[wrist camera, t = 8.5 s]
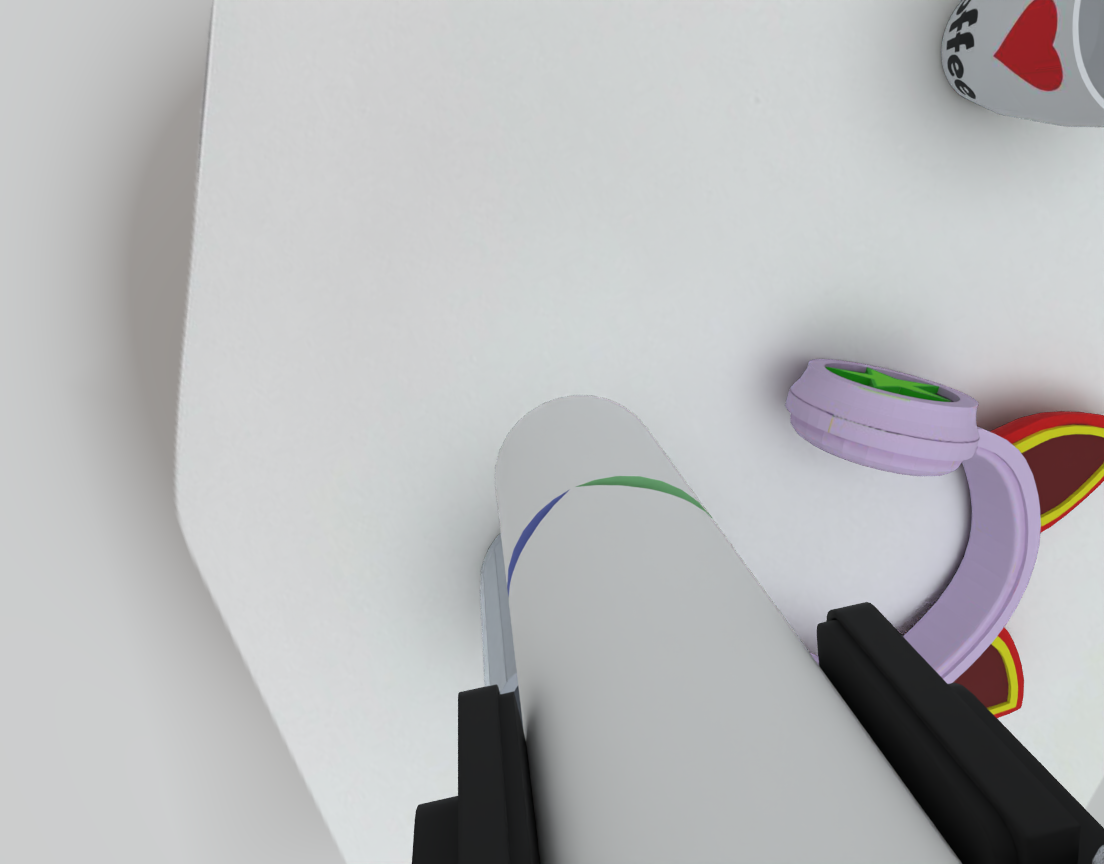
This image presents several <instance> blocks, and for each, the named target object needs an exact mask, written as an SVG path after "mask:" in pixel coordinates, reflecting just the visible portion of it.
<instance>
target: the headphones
mask: <svg viewBox="0 0 1104 864" xmlns="http://www.w3.org/2000/svg"><path fill="white" fill-rule="evenodd" d="M785 406H786V408H787V410H788V411H789V412H790V413H791V424H792V426H793V428H794V429H795V431H796V432H797V433H798V434H799V435H800V436H801V437H803V438H804V439H806V440H807V441H808V442H810V443H811V444H813V445H814V446H816V447H818V448H820V449H822V450H824V451H826V452H828V453H830V454H833V455H835V456H838V457H840V458H843V459H845V460H848V461H851V462H854V463H857V464H860V465H863V466H867V467H871V468H875V469H879V470H883V471H888V472H893V473H898V474H904V475H913V476H940V475H944V474H948V473H950V472H952V471H954V470H957V468H958V467H959V466H960V464H961V463H962V464H963V466H964V470H965V473H966V476H967V480H968V485H969V489H970V496H971V504H972V523H971V531H970V537H969V542H968V545H967V548H966V552H965V555H964V557H963V560H962V562H961V564H960V566H959V568H958V570H957V572H956V574H955V575H954V577H953V579H952V580H951V582H950V584H949V585H948V587H947V588H946V589H945V591H944V592H943V594H942V595H941V596H940V598H939V599H938V601H937V602H936V603H935V604H934V605H933V606H932V607H931V608H930V609H929V611H928V612H927V613H926V614H925V615H924V616H923V617H922V618H921V619H920V620H919V621H918V622H917V623H916V624H915V625H914V626H913V627H912V628H911V629H910V630H909V631H908V632H907V633H906V634H905V635H904V636H903V637H904V638H905V639H906V640H907V641H908V642H909V643H910V644H911V646H912V647H913V648H914V649H915V650H916V651H917V652H918V653H919V654H920V655H921V656H922V657H923V658H924V659H925V660H926V661H927V663H928V664H929V665H930V666H931V667H932V668H933V669H934V670H935V671H936V672H937V673H938V674H939V675H940V676H941V677H942V678H943V679H944V681H945V682H946V683H947V684H950V683H958V684H961V685H963V686H964V687H965V688H967V689H968V690H969V691H970V692H972V693H973V694H974V695H975V696H976V697H977V699H978V700H979V701H980V702H981V703H982V704H983V705H984V706H985V707H986V708H987V709H988V710H989V711H990V712H991V713H992V714H993V715H994V716H995V717H996V718H999V717H1001V716H1004V715H1007V714H1010V713H1012V712H1014V711H1016V710H1018V709H1020V708H1021V706H1022V701H1023V692H1024V677H1023V671H1022V665H1021V661H1020V658H1019V654H1018V652H1017V649H1016V646H1015V644H1014V642H1013V640H1012V638H1011V636H1010V634H1009V632H1008V631H1007V630H1006V629H1005V628H1004V626H1005V625H1006V624H1007V622H1008V621H1009V619H1010V617H1011V616H1012V614H1013V612H1014V611H1015V609H1016V608H1017V606H1018V604H1019V602H1020V599H1021V597H1022V595H1023V593H1024V591H1025V589H1026V587H1027V585H1028V583H1029V580H1030V577H1031V574H1032V571H1033V568H1034V565H1035V562H1036V558H1037V553H1038V549H1039V543H1040V533H1041V532H1043V531H1044V530H1046V529H1048V528H1049V527H1051V526H1052V525H1054V524H1055V523H1056V522H1058V521H1059V520H1060V519H1062V518H1063V517H1064V516H1066V515H1067V514H1068V513H1069V512H1070V511H1072V510H1073V509H1074V508H1075V507H1076V506H1077V505H1079V504H1080V503H1081V502H1082V501H1083V500H1084V499H1085V498H1087V497H1088V496H1089V495H1090V494H1091V493H1092V492H1093V491H1094V490H1095V489H1096V488H1097V487H1098V486H1099V485H1100V484H1101V483H1102V482H1103V481H1104V416H1103V415H1099V414H1092V413H1084V412H1065V411H1061V412H1044V413H1038V414H1034V415H1030V416H1026V417H1022V418H1018V419H1016V420H1014V421H1012V422H1009V423H1007V424H1005V425H1003V426H1001V427H998V428H996V429H994V430H992V431H990V432H989V431H987V430H985V429H982V428H980V427H978V426H977V425H976V410H977V407H978V402H977V401H976V400H975V399H973V398H972V397H970V396H968V395H966V394H964V393H962V392H960V391H957V390H955V389H952V388H950V387H947V386H944V385H941V384H938V383H935V382H932V381H929V380H926V379H923V378H919V377H916V376H912V375H909V374H905V373H901V372H897V371H893V370H889V369H885V368H880V367H876V366H871V365H866V364H860V363H855V362H848V361H841V360H832V359H814V360H810V361H809V363H808V367H807V368H806V370H805V371H804V373H803V375H802V376H801V377H800V378H799V379H798V380H797V381H796V382H795V383H794V384H793V385H792V386H791V387H790V390H789V393H788V397H787V400H786V404H785ZM810 654H811V655H812V657H813V658H814V659H815V661H816V662H817V663H818V665H819V659H818V656H817V655H815V654H813V653H810Z"/></svg>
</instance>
